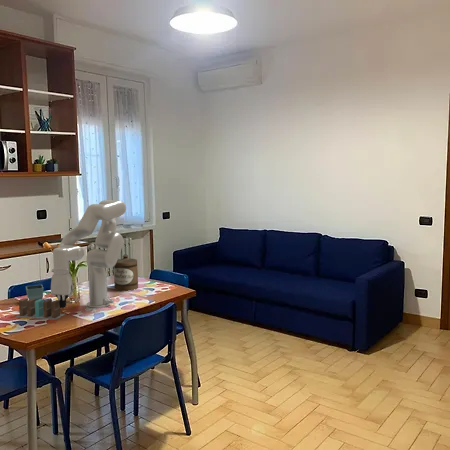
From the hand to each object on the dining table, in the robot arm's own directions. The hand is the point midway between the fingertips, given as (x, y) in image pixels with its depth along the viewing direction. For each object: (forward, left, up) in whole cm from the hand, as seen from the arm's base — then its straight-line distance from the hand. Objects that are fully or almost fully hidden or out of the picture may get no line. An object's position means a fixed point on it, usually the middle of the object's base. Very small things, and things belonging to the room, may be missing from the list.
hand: (62, 307), depth 237 cm
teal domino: (+13, 0, -5) cm, 14 cm away
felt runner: (+13, 0, -5) cm, 14 cm away
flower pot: (+30, -23, -6) cm, 38 cm away
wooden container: (-9, -63, -6) cm, 64 cm away
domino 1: (+22, 0, -5) cm, 23 cm away
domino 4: (+4, 0, -5) cm, 7 cm away
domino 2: (+17, 0, -5) cm, 18 cm away
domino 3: (+8, 0, -5) cm, 10 cm away
